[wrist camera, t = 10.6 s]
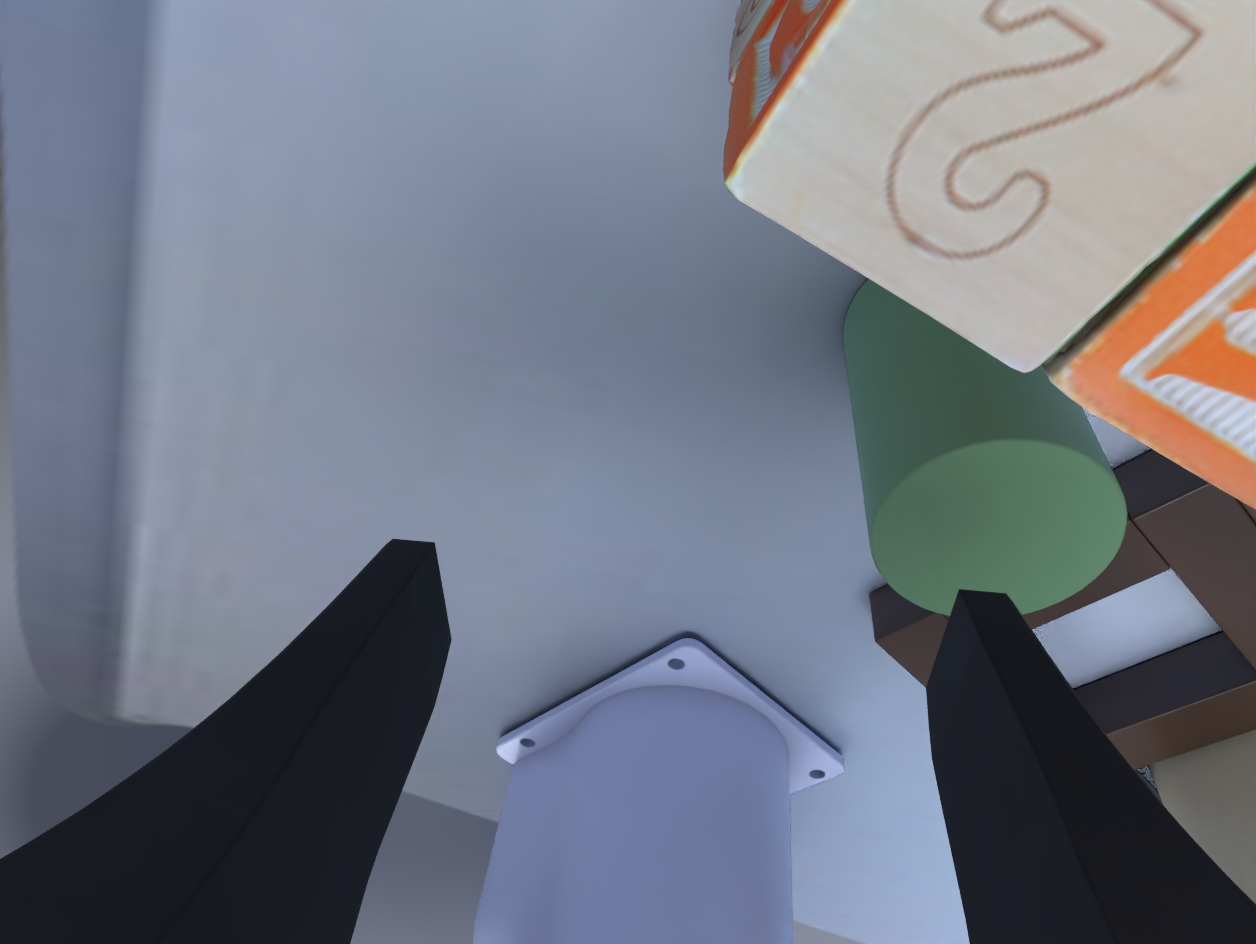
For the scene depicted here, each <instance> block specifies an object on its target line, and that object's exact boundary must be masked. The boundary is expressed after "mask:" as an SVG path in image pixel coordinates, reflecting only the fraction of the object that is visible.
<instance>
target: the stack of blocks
mask: <svg viewBox="0 0 1256 944" xmlns="http://www.w3.org/2000/svg"><path fill="white" fill-rule="evenodd" d="M729 83H730V84H731V85H732V86H733V90H732V97H731V103H730V109H729V127H728V132H727V137H726V142H725V148H724V167H723V171H724V178H725V186H726V188H727V189H728V190H729V191H730V192H731V193H732V194H733V195H734V196H735V197H736V198H737V199H738V200H739V201H741V202H743V203H744V204H746V205H748V206H749V207H751V208H753V209H754V210H756V211H758V212H760V213H761V214H763V215H765V216H766V217H768V218H770V219H771V220H773V221H775V222H777V223H778V224H780V225H782V226H783V227H785V228H787V229H788V230H790V231H792V232H793V233H795V234H797V235H798V236H800V237H802V238H803V239H805V240H807V241H808V242H810V243H811V244H813V245H815V246H816V247H818V248H820V249H821V250H823V251H824V252H826V253H828V254H829V255H831V256H833V257H834V258H836V259H838V260H839V261H841V262H842V263H844V264H846V265H847V266H849V267H851V268H852V269H854V270H855V271H857V272H859V273H860V274H862V275H864V276H865V277H867V278H868V279H870V280H872V281H873V282H875V283H877V284H878V285H880V286H882V287H883V288H885V289H886V290H888V291H890V292H891V293H893V294H895V295H896V296H898V297H899V298H901V299H903V300H904V301H906V302H908V303H909V304H911V305H912V306H914V307H916V308H917V309H919V310H921V311H922V312H924V313H925V314H927V315H929V316H930V317H932V318H933V319H935V320H937V321H938V322H940V323H941V324H943V325H945V326H946V327H948V328H949V329H951V330H952V331H954V332H956V333H957V334H959V335H960V336H962V337H963V338H965V339H967V340H968V341H970V342H971V343H973V344H975V345H976V346H978V347H979V348H981V349H982V350H984V351H986V352H987V353H989V354H990V355H992V356H993V357H995V358H997V359H998V360H1000V361H1001V362H1003V363H1004V364H1006V365H1008V366H1009V367H1011V368H1013V369H1016V370H1018V371H1020V372H1023V373H1027V372H1030V371H1032V370H1034V369H1036V368H1037V367H1039V366H1041V365H1042V367H1043V369H1044V371H1045V372H1046V374H1047V376H1048V378H1049V380H1050V382H1051V383H1052V384H1053V385H1055V386H1056V387H1057V388H1058V389H1059V390H1061V391H1062V392H1063V393H1064V394H1065V395H1066V396H1068V397H1069V398H1070V399H1072V400H1073V401H1075V402H1076V403H1077V404H1079V405H1080V406H1082V407H1083V408H1084V409H1086V410H1087V411H1089V412H1090V413H1092V414H1094V415H1095V416H1097V417H1099V418H1101V419H1102V420H1104V421H1106V422H1108V423H1109V424H1111V425H1113V426H1114V427H1116V428H1118V429H1120V430H1121V431H1123V432H1125V433H1126V434H1128V435H1130V436H1131V437H1133V438H1135V439H1136V440H1138V441H1140V442H1141V443H1143V444H1145V445H1146V446H1148V447H1150V448H1151V449H1153V450H1155V451H1156V452H1158V453H1160V454H1161V455H1163V456H1165V457H1166V458H1168V459H1170V460H1171V461H1173V462H1175V463H1176V464H1178V465H1180V466H1181V467H1183V468H1185V469H1186V470H1188V471H1190V472H1192V473H1193V474H1195V475H1197V476H1198V477H1200V478H1202V479H1204V480H1205V481H1207V482H1209V483H1211V484H1212V485H1214V486H1216V487H1217V488H1219V489H1221V490H1223V491H1224V492H1226V493H1228V494H1229V495H1231V496H1233V497H1235V498H1236V499H1238V500H1240V501H1242V502H1243V503H1245V504H1247V505H1248V506H1250V507H1252V508H1254V509H1255V510H1256V0H742V1H741V5H740V7H739V9H738V10H737V14H736V19H735V28H734V31H733V39H732V46H731V52H730V67H729Z"/></svg>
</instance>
